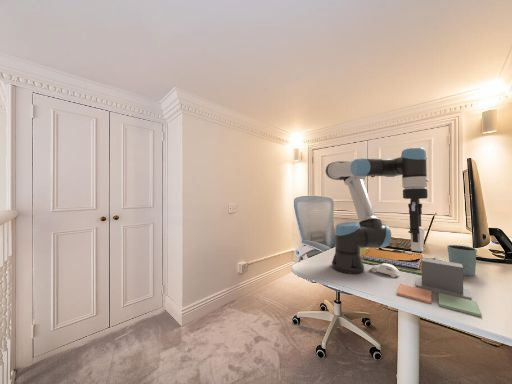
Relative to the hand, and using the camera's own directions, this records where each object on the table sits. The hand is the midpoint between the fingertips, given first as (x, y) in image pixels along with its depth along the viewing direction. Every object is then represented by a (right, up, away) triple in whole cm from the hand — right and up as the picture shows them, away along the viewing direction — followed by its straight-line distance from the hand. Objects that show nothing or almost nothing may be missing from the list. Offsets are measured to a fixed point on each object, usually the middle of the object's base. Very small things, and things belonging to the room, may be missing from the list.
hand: (416, 249), depth 78 cm
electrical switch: (+21, -17, +14) cm, 31 cm away
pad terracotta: (0, -17, +1) cm, 18 cm away
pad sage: (+9, -17, -7) cm, 21 cm away
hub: (+13, -17, +4) cm, 22 cm away
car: (+1, -18, +21) cm, 28 cm away
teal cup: (+39, -17, +21) cm, 48 cm away
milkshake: (0, 0, 0) cm, 0 cm away
